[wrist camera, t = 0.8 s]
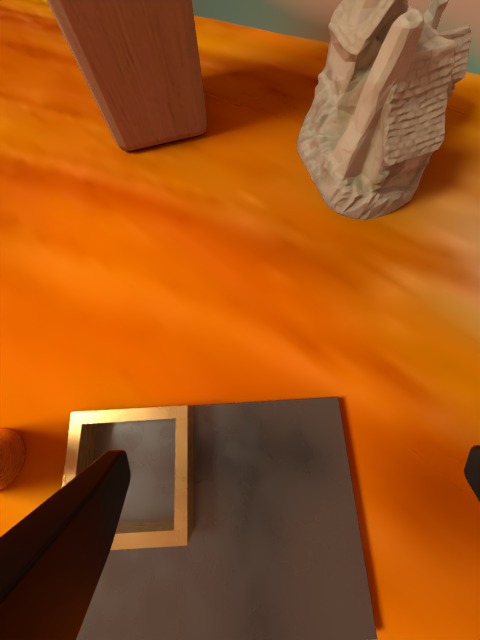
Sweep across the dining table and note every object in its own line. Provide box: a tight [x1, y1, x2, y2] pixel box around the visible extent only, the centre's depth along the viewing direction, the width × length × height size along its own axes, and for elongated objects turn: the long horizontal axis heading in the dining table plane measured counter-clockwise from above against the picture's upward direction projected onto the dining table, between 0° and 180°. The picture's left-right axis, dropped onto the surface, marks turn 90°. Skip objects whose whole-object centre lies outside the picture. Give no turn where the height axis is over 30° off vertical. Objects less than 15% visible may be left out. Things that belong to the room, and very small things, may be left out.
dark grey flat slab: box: [62, 397, 377, 640], centre depth 18 cm, size 14×20×3 cm
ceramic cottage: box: [297, 0, 472, 220], centre depth 23 cm, size 16×16×15 cm
